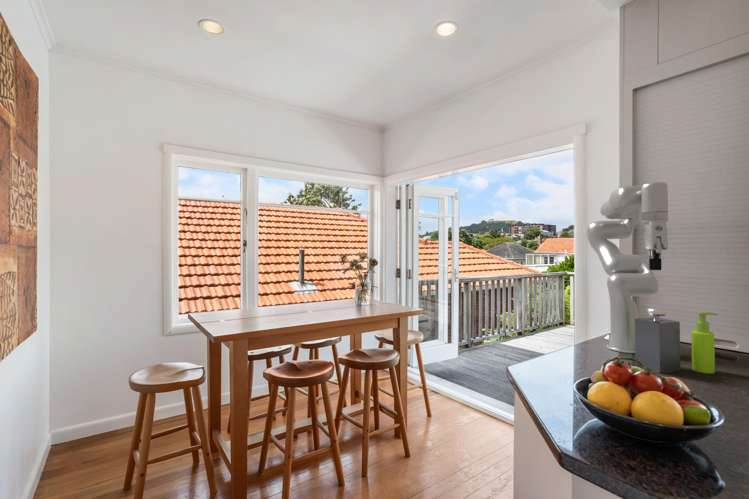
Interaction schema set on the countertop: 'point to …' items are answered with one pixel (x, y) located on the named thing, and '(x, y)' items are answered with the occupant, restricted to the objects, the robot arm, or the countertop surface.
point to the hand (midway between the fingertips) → (655, 269)
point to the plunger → (656, 313)
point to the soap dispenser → (703, 346)
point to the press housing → (658, 344)
